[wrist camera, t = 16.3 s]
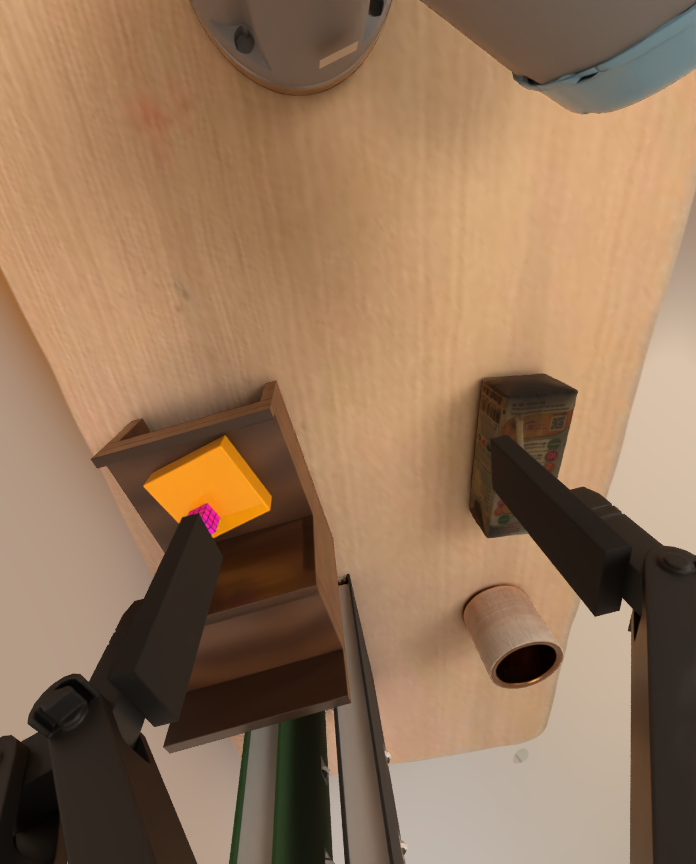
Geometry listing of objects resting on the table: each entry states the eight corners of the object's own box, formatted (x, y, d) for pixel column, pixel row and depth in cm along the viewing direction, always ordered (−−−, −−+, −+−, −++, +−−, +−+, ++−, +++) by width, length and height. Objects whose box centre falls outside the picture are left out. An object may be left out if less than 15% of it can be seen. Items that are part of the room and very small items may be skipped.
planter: (538, 589, 57) (580, 646, 49) (503, 633, 61) (536, 693, 53) (483, 576, 55) (517, 635, 46) (449, 623, 58) (475, 685, 50)
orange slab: (151, 472, 33) (131, 500, 29) (225, 434, 32) (215, 457, 28) (204, 530, 36) (193, 561, 33) (272, 496, 36) (269, 524, 32)
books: (256, 591, 50) (197, 1027, 22) (359, 572, 51) (433, 968, 22) (295, 698, 62) (289, 1070, 34) (377, 681, 63) (441, 1030, 34)
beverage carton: (464, 511, 48) (487, 545, 42) (477, 375, 40) (508, 394, 34) (520, 504, 49) (550, 536, 43) (544, 368, 41) (585, 386, 35)
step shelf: (131, 421, 38) (-23, 563, 20) (276, 380, 38) (252, 486, 20) (219, 570, 48) (169, 754, 30) (333, 538, 48) (351, 703, 30)
